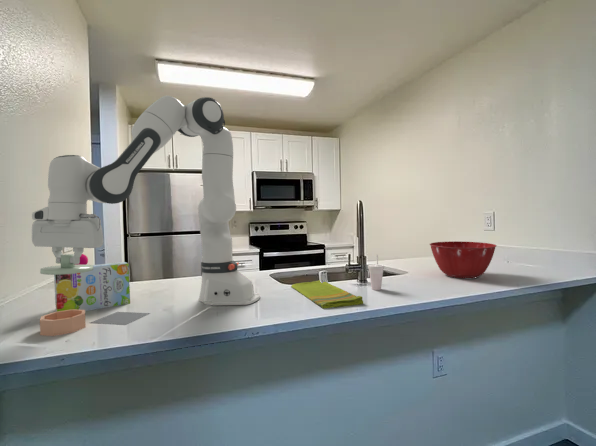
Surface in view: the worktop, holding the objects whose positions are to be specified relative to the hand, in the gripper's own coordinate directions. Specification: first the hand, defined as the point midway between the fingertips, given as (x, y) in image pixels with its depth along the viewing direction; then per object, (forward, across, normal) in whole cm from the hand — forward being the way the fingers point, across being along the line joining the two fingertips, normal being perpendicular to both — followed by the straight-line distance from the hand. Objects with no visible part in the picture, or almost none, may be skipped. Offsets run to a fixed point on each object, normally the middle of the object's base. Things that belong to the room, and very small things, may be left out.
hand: (67, 263), depth 91 cm
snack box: (+19, +9, -19) cm, 29 cm away
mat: (+18, -8, -10) cm, 23 cm away
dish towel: (+17, -65, -49) cm, 83 cm away
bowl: (+18, 0, +1) cm, 19 cm away
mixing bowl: (+14, -127, -93) cm, 158 cm away
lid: (+2, 0, 0) cm, 2 cm away
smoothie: (+15, -86, -60) cm, 106 cm away
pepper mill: (+19, +19, -23) cm, 36 cm away
